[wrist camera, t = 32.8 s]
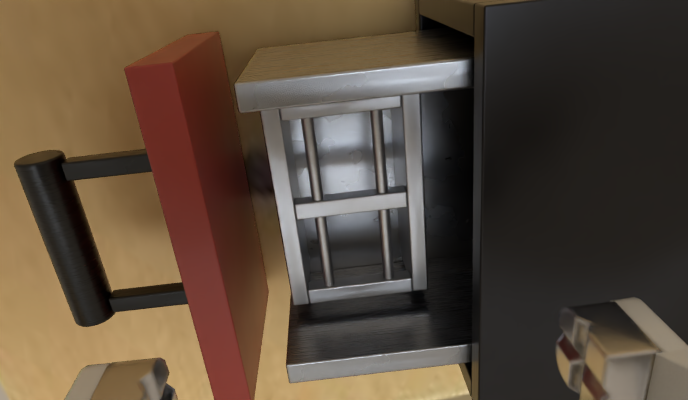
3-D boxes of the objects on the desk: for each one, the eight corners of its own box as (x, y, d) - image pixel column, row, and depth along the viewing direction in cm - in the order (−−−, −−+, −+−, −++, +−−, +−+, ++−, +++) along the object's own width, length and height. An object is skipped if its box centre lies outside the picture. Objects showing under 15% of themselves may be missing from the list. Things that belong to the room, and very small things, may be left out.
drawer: (135, 307, 23) (70, 430, 17) (51, 49, 18) (-81, 89, 12) (536, 261, 23) (616, 366, 17) (554, -6, 19) (674, 6, 12)
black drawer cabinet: (425, 273, 24) (478, 417, 17) (414, -10, 19) (484, 5, 11) (726, 239, 25) (919, 366, 17) (797, -52, 19) (1126, -65, 12)
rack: (414, 249, 22) (428, 290, 19) (295, 263, 21) (293, 305, 19) (404, 69, 18) (421, 86, 16) (266, 84, 18) (258, 105, 16)
